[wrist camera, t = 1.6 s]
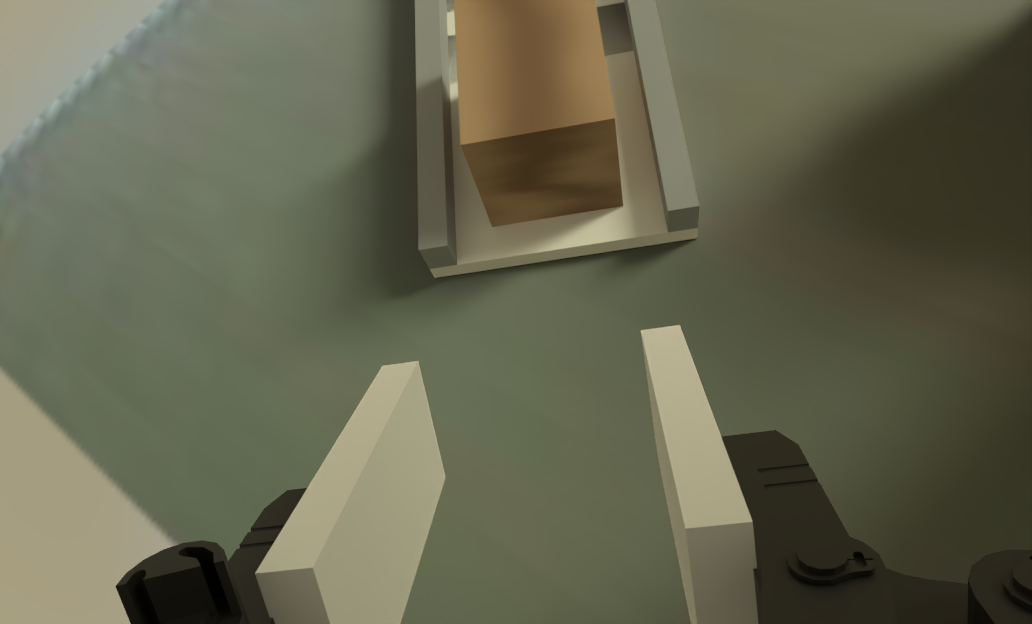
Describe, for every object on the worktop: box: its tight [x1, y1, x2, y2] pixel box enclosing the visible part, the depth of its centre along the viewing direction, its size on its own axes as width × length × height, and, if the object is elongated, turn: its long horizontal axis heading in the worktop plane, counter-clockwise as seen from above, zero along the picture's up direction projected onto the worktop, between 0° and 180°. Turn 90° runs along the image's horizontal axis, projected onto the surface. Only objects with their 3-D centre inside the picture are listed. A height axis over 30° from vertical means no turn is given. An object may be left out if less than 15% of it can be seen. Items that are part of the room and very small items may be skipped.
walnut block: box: [454, 0, 623, 227], centre depth 39 cm, size 7×10×7 cm
